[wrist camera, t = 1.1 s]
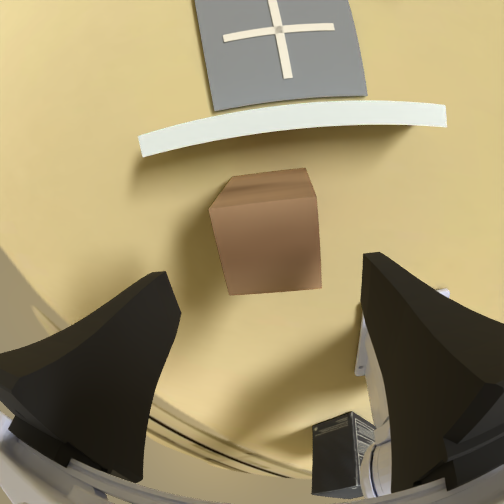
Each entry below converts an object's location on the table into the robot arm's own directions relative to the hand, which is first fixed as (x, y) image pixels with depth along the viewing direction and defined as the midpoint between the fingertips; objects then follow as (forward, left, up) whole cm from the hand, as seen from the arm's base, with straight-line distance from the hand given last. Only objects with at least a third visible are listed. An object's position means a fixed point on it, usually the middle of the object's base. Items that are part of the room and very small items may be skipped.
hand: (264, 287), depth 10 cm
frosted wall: (+5, -2, -9) cm, 10 cm away
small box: (-32, -7, -9) cm, 34 cm away
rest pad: (+11, -2, -9) cm, 14 cm away
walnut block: (0, 0, -9) cm, 9 cm away
